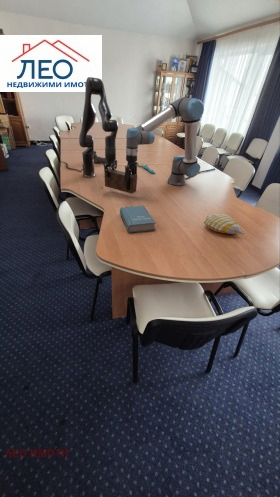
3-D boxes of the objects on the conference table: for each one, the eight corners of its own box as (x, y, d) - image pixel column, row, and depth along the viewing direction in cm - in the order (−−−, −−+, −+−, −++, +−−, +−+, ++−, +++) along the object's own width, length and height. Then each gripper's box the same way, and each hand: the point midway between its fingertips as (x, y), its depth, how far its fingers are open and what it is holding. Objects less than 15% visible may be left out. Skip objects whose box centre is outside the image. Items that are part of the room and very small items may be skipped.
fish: (254, 225, 128) (232, 232, 118) (249, 236, 132) (228, 244, 123) (221, 208, 144) (199, 213, 134) (217, 218, 149) (196, 224, 139)
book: (154, 230, 131) (155, 222, 128) (128, 232, 126) (128, 225, 124) (143, 212, 148) (143, 205, 145) (119, 214, 144) (120, 207, 141)
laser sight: (105, 165, 227) (104, 155, 221) (84, 162, 230) (83, 152, 224) (108, 162, 235) (108, 152, 229) (88, 160, 238) (87, 150, 232)
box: (104, 186, 168) (104, 170, 161) (109, 183, 172) (109, 168, 165) (132, 194, 160) (133, 177, 152) (136, 191, 164) (137, 175, 157)
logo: (136, 163, 238) (136, 163, 238) (145, 163, 241) (145, 162, 240) (146, 174, 213) (146, 173, 212) (155, 173, 215) (155, 172, 215)
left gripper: (111, 149, 161) (112, 172, 171) (99, 153, 150) (100, 177, 160) (120, 151, 158) (120, 174, 168) (109, 155, 148) (109, 180, 158)
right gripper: (129, 158, 139) (128, 193, 153) (143, 152, 153) (141, 185, 167) (119, 156, 142) (119, 190, 156) (133, 151, 156) (132, 183, 169)
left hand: (110, 176), depth 164 cm, fingers closed on box, 6 cm apart
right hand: (130, 187), depth 161 cm, fingers closed on box, 6 cm apart
